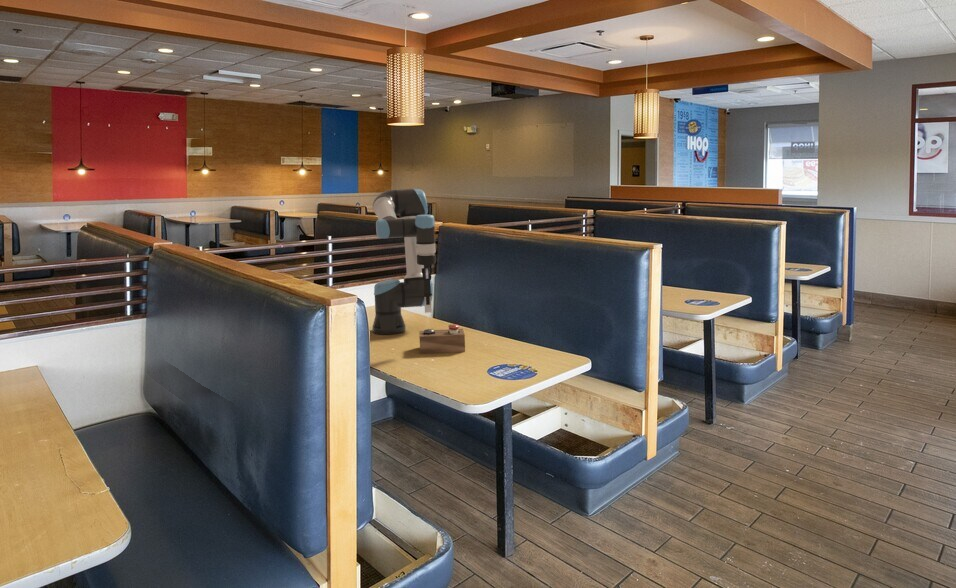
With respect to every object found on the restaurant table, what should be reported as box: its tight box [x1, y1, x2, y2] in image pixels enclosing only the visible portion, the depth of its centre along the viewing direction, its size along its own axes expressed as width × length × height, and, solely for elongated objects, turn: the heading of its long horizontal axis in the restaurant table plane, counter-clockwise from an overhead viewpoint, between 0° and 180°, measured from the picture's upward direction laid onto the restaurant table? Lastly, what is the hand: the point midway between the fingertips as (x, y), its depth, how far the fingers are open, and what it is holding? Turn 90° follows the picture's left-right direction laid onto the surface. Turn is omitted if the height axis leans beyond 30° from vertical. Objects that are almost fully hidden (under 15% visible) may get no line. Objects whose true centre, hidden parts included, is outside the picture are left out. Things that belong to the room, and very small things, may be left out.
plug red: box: [448, 323, 460, 334], centre depth 265 cm, size 4×4×8 cm
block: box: [418, 328, 466, 355], centre depth 265 cm, size 10×18×7 cm, turn 95°
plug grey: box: [423, 328, 435, 335], centre depth 264 cm, size 4×4×8 cm
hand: (428, 312), depth 263 cm, fingers closed
